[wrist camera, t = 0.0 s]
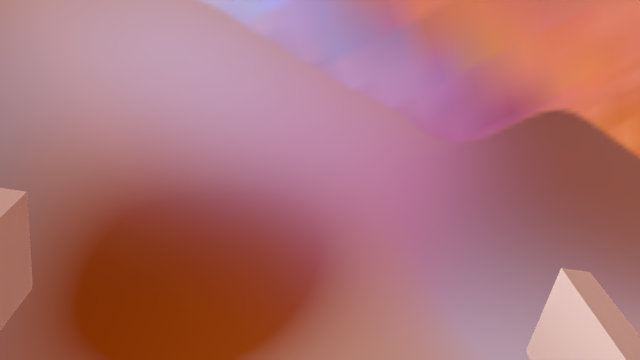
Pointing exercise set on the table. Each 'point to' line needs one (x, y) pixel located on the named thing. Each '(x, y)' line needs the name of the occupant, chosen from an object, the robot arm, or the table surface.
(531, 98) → the table surface
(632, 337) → the robot arm
